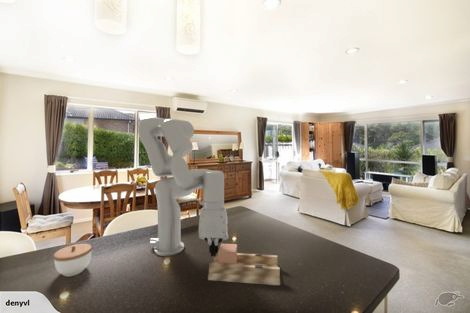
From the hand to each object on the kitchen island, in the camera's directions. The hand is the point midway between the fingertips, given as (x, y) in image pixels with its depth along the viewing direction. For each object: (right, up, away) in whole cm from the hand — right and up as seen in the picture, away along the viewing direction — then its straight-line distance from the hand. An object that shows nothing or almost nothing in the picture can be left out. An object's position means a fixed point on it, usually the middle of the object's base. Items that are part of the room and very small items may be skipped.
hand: (213, 254), depth 76 cm
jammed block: (+5, -4, 0) cm, 7 cm away
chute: (+11, -6, -1) cm, 13 cm away
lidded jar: (-50, -6, -1) cm, 51 cm away
